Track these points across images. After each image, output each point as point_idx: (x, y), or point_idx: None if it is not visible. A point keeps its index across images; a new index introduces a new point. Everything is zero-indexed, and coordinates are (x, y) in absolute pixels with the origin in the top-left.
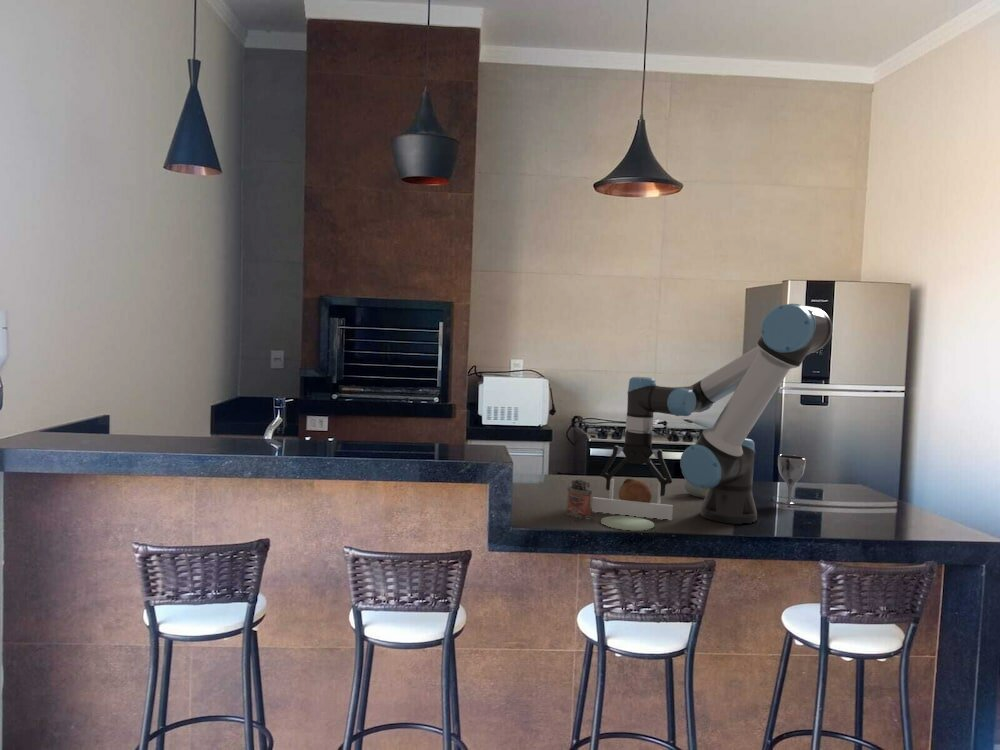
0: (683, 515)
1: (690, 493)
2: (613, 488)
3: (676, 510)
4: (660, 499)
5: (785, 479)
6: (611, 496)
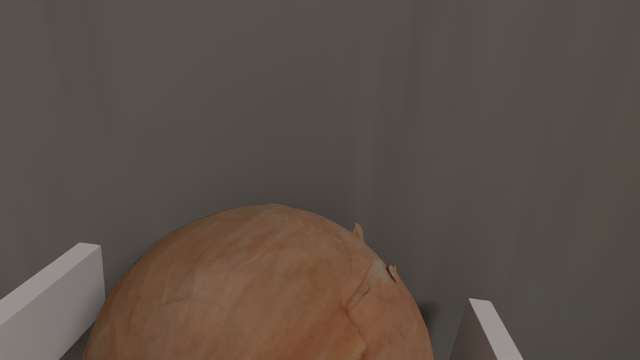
0: (633, 351)
1: None
2: (13, 313)
3: (630, 218)
4: (511, 349)
5: None
6: (69, 345)
